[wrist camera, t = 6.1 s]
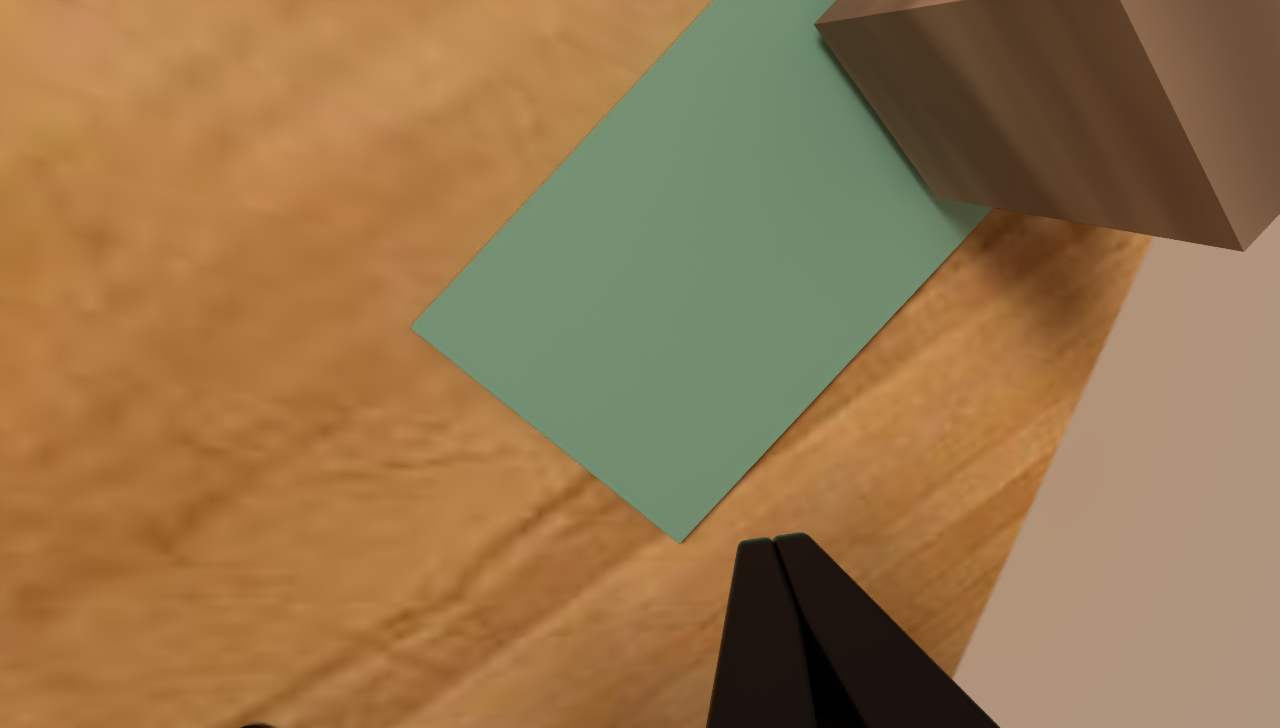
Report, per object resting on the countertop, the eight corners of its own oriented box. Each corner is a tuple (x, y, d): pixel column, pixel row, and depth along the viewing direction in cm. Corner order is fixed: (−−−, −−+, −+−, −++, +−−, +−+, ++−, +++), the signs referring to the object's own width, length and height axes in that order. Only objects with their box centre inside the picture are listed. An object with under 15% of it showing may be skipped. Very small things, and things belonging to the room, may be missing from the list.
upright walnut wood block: (936, 197, 22) (1243, 252, 14) (813, 24, 19) (1108, -24, 12) (1011, 118, 22) (1359, 128, 14) (897, -67, 19) (1249, -175, 12)
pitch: (675, 538, 24) (679, 543, 23) (410, 325, 19) (411, 329, 19) (1138, 43, 23) (1147, 43, 23) (976, -284, 19) (985, -289, 19)
